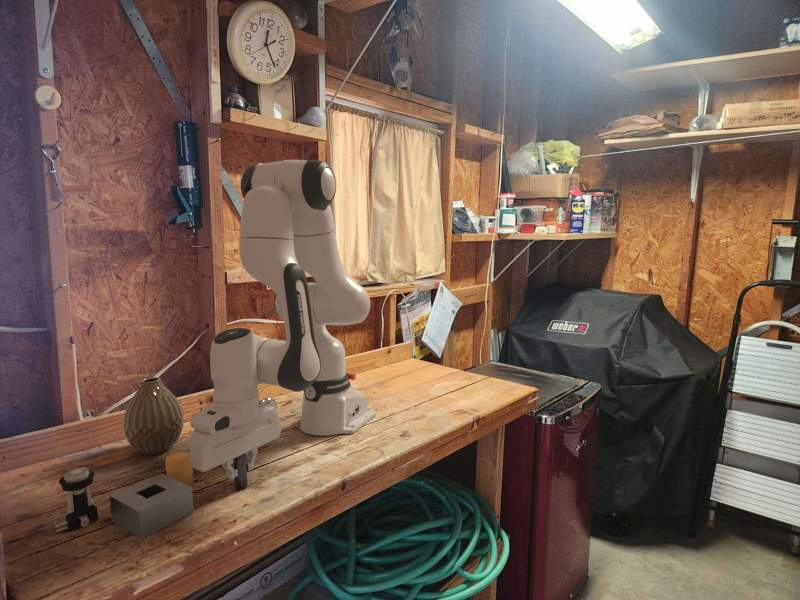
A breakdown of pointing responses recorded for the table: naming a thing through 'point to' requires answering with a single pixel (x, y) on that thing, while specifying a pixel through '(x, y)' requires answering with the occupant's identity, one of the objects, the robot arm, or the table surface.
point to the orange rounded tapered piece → (179, 467)
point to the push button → (78, 498)
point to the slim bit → (240, 472)
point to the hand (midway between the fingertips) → (240, 473)
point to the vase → (153, 418)
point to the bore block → (151, 505)
